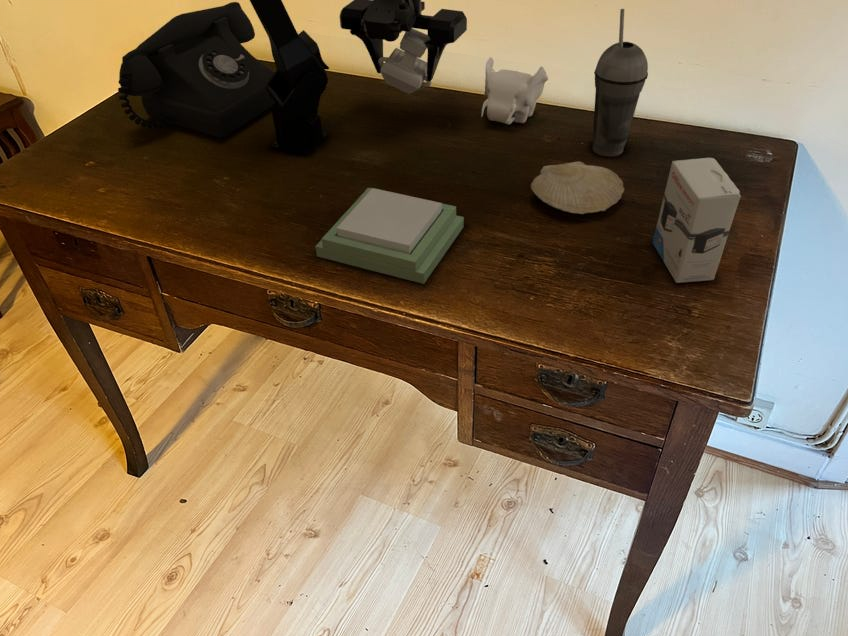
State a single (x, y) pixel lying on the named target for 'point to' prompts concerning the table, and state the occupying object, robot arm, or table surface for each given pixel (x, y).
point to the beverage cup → (617, 93)
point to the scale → (392, 261)
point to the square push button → (390, 220)
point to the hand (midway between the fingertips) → (404, 76)
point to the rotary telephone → (198, 73)
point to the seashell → (578, 187)
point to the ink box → (695, 219)
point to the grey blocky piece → (407, 63)
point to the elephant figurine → (511, 93)
